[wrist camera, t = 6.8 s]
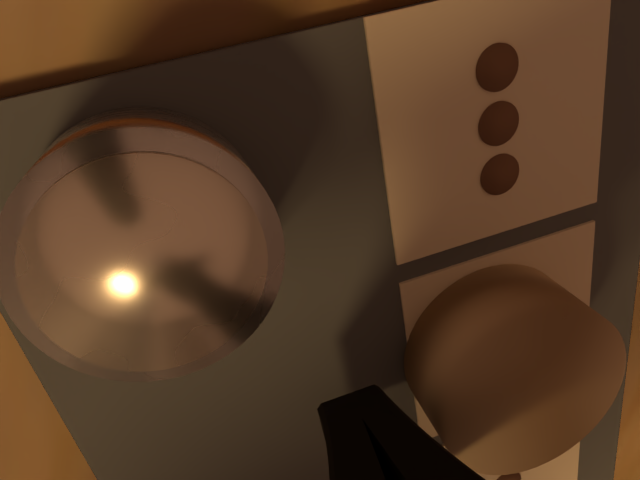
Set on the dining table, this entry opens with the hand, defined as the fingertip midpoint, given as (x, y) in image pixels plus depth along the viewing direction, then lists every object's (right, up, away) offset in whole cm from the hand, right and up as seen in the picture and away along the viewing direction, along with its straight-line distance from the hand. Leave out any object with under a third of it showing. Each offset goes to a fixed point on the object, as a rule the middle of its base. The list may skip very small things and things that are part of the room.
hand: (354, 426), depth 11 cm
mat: (+1, +1, +2) cm, 2 cm away
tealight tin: (-4, +4, -2) cm, 6 cm away
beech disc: (+3, +2, +2) cm, 4 cm away
